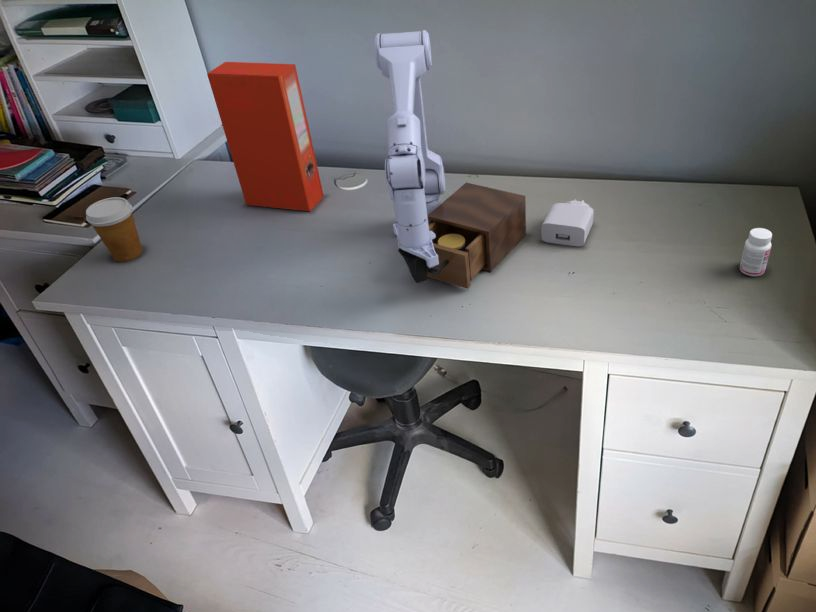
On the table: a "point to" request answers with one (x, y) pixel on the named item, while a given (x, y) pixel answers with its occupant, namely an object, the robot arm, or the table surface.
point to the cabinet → (486, 218)
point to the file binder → (267, 134)
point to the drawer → (458, 256)
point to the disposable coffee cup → (115, 227)
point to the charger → (568, 223)
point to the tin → (453, 241)
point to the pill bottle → (756, 252)
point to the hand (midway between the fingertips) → (420, 280)
